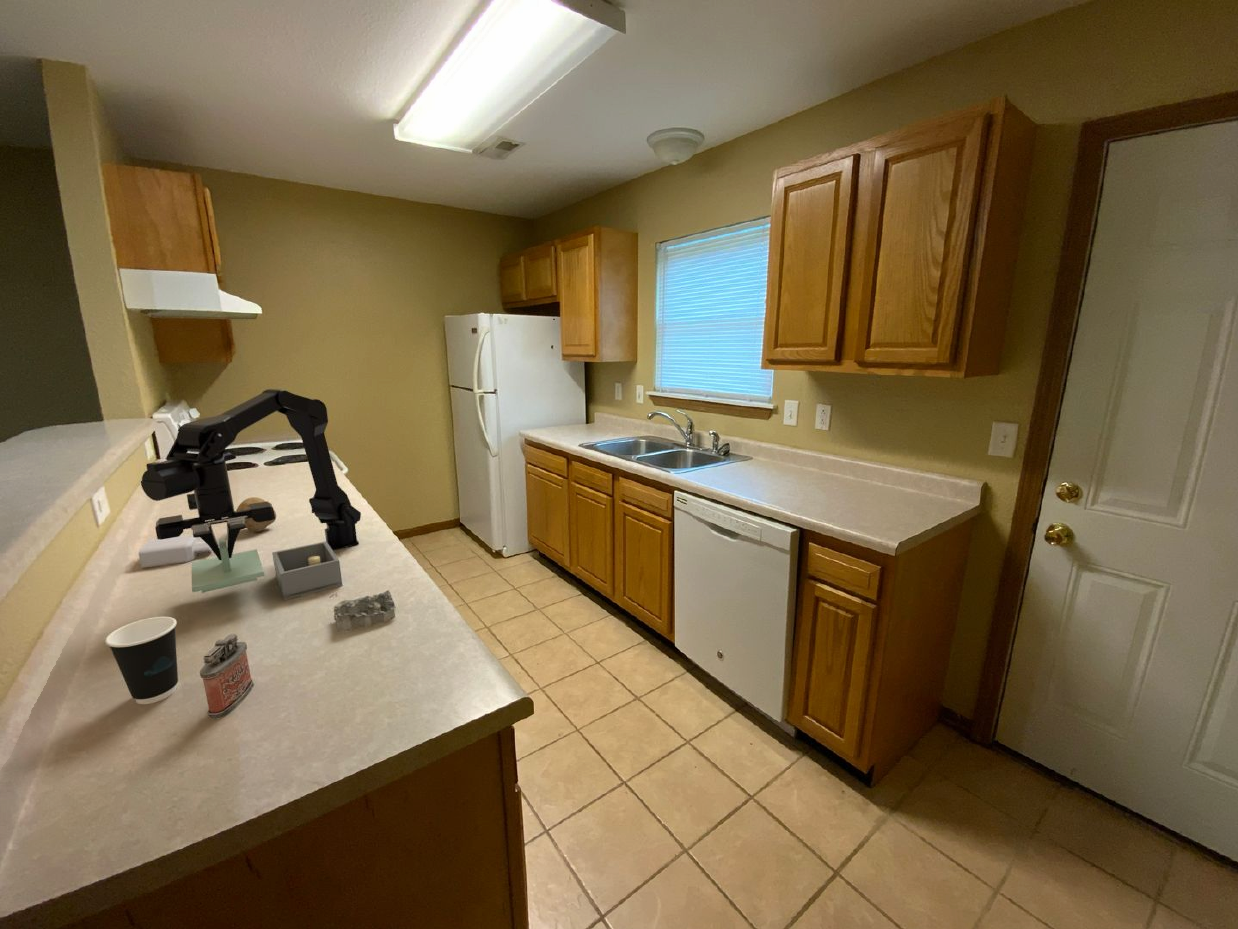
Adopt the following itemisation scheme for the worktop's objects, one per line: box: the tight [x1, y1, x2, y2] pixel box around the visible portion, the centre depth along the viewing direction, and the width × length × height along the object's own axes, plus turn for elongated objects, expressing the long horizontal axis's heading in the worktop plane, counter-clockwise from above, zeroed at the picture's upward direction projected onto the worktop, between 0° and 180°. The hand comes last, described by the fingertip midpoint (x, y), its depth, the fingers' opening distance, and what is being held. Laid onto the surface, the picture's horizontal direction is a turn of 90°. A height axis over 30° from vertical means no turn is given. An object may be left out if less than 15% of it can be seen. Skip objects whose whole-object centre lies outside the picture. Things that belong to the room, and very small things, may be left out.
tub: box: [271, 540, 343, 601], centre depth 116 cm, size 11×14×6 cm
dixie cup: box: [105, 616, 179, 705], centre depth 79 cm, size 8×8×11 cm
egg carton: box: [333, 590, 396, 633], centre depth 102 cm, size 11×8×4 cm
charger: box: [138, 533, 219, 569], centre depth 129 cm, size 5×9×15 cm
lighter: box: [199, 633, 255, 720], centre depth 78 cm, size 8×3×10 cm, turn 5°
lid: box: [190, 539, 265, 594], centre depth 107 cm, size 11×14×7 cm
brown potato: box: [235, 496, 277, 533], centre depth 145 cm, size 9×9×10 cm
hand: (225, 558), depth 106 cm, fingers closed on lid
